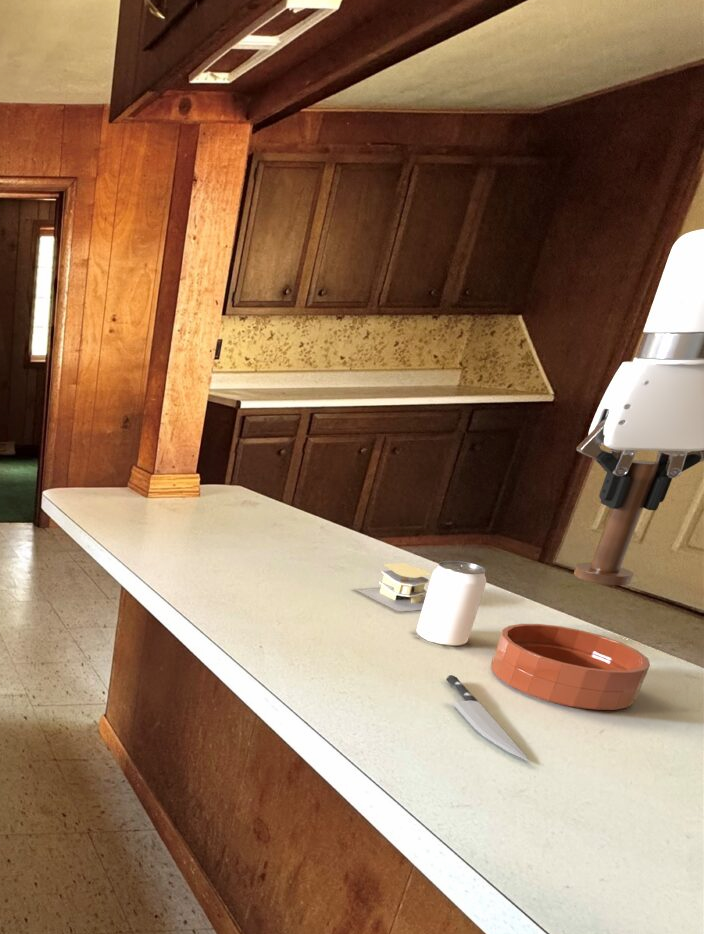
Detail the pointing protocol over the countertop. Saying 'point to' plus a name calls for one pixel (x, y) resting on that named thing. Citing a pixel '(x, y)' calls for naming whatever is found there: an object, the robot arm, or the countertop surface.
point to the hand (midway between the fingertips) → (627, 505)
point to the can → (451, 603)
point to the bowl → (569, 666)
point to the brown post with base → (620, 530)
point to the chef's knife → (483, 719)
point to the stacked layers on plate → (400, 587)
